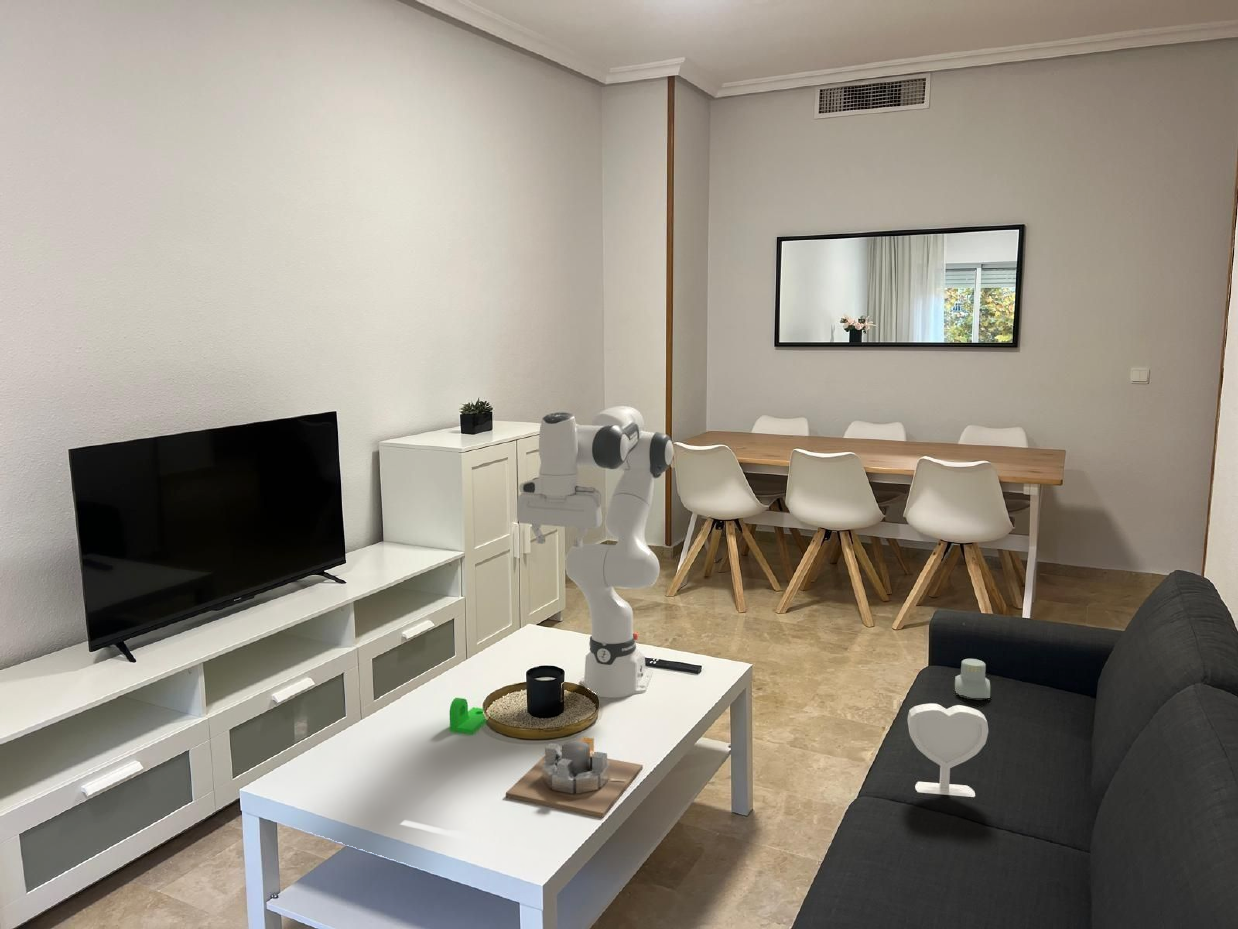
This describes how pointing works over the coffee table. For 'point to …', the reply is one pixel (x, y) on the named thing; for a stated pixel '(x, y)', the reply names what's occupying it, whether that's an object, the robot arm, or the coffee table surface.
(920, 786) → the heart sculpture
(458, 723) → the mechanical part
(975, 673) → the air freshener
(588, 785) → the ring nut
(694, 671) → the coffee table surface
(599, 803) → the base plate
